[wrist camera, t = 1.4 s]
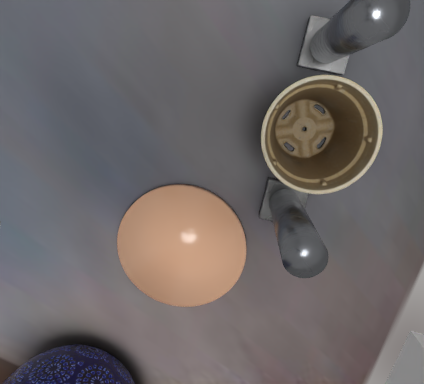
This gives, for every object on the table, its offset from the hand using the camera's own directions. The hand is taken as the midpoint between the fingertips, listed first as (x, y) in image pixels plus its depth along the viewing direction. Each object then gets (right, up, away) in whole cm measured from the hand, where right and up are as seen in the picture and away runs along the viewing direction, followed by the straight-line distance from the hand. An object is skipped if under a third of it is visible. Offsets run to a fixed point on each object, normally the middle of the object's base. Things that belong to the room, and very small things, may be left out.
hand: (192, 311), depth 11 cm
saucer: (-3, -3, +29) cm, 30 cm away
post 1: (+8, +3, +27) cm, 28 cm away
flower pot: (+10, +10, +25) cm, 29 cm away
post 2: (+12, +18, +22) cm, 31 cm away
